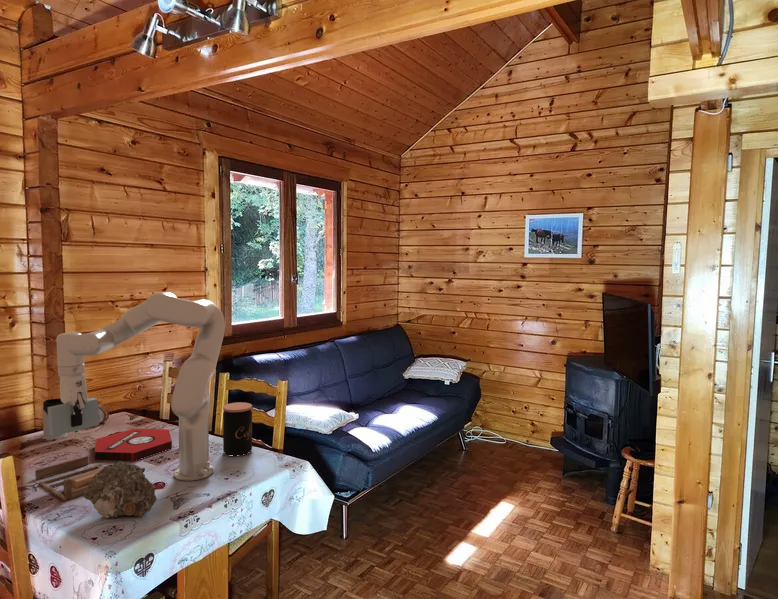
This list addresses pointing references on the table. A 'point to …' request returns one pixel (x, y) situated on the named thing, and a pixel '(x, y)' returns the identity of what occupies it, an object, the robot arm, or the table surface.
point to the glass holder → (45, 419)
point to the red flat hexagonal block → (132, 444)
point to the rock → (121, 491)
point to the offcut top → (83, 478)
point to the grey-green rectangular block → (62, 417)
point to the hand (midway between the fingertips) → (74, 424)
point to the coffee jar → (237, 428)
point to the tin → (103, 413)
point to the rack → (67, 482)
